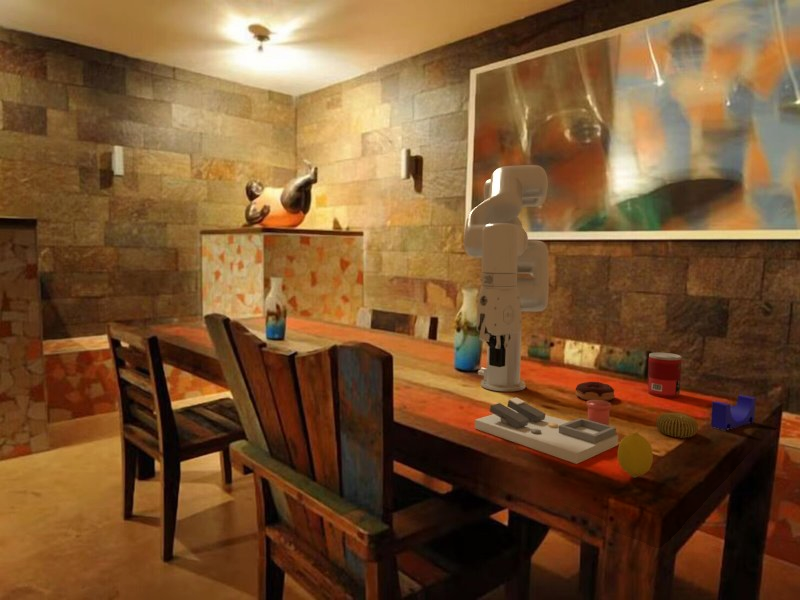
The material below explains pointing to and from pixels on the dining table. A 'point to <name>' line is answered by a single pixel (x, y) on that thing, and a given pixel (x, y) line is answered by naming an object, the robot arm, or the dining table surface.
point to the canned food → (664, 375)
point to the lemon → (635, 454)
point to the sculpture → (677, 425)
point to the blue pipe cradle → (733, 413)
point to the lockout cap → (598, 411)
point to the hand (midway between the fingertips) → (497, 365)
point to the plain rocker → (509, 415)
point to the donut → (595, 391)
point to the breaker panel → (555, 436)
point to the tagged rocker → (526, 409)
